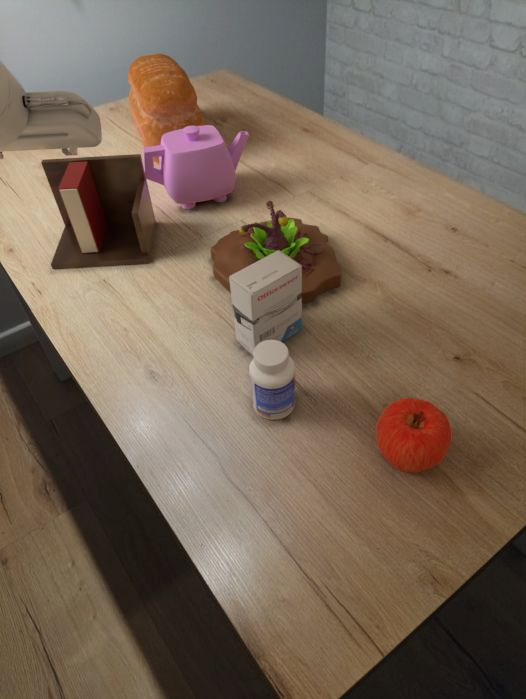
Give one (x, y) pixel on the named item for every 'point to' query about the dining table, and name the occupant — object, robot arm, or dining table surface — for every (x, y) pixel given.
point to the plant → (289, 239)
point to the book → (83, 206)
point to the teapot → (195, 164)
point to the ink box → (267, 300)
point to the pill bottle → (272, 380)
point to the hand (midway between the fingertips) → (34, 151)
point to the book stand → (108, 212)
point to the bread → (161, 98)
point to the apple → (413, 434)
